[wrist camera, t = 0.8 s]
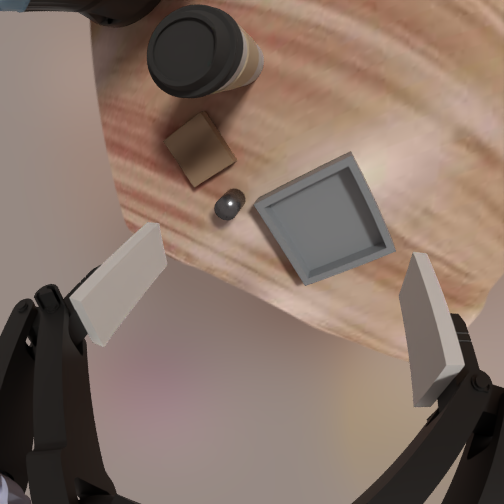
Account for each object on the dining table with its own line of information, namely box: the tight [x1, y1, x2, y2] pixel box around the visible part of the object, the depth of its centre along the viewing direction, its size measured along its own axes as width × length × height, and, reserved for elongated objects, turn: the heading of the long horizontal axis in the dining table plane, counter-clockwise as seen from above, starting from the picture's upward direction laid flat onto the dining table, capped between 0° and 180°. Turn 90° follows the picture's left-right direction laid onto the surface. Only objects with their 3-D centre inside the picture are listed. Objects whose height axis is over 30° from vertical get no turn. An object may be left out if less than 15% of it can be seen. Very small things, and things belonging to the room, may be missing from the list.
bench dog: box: [215, 189, 245, 220], centre depth 39 cm, size 3×3×4 cm
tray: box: [254, 151, 396, 286], centre depth 37 cm, size 14×14×2 cm
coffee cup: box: [147, 5, 264, 98], centre depth 24 cm, size 9×9×15 cm
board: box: [163, 112, 237, 187], centre depth 37 cm, size 8×7×2 cm
